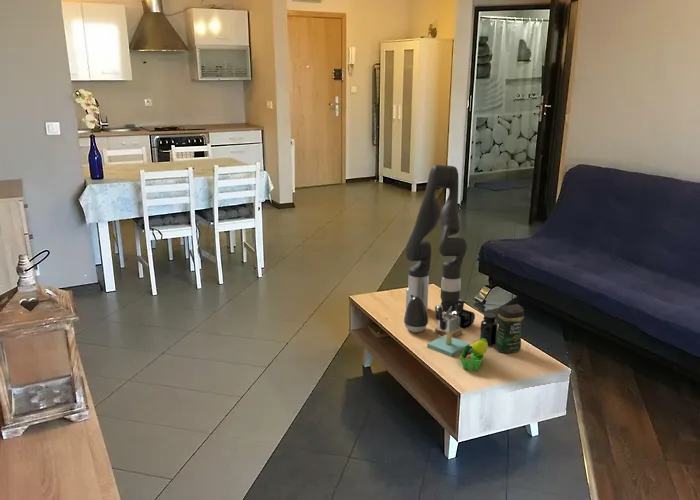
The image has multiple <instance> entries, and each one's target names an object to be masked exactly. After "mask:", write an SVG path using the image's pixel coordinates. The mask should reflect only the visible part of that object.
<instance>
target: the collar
mask: <svg viewBox="0 0 700 500" xmlns="http://www.w3.org/2000/svg"><path fill="white" fill-rule="evenodd" d="M443 318H444V315H443ZM437 323H438V324H437V328H440V321H439V320H437ZM458 329H460V317H459V316H456V315H454V314H452V313H449V315H448V317H447V318H446V326H445V330H444V331H446V332H452V331H455V330H458Z"/></svg>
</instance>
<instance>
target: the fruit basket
mask: <svg viewBox="0 0 700 500" xmlns="http://www.w3.org/2000/svg"><path fill="white" fill-rule="evenodd" d="M487 347H488V343H487V340H486V339H484V338H482V339H480V338H479V340H477V341H475V342H473V343H472V345H470V346H466V347H465V349H464V350H463V351H462V353H461V355H460V360H461V363H462V368H463V370H467V371H468V370H469V371H474V372H478V370H479V368H480V366H481V364H482V361H483V358H484V357H485V356H484V355H485V354H486V352H487V349H488V348H487Z"/></svg>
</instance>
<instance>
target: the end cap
mask: <svg viewBox="0 0 700 500" xmlns="http://www.w3.org/2000/svg"><path fill="white" fill-rule="evenodd" d="M459 311H460V308H459ZM451 313H452V312H451ZM459 317H460V328H461V329H462V330H466V329H468V328H470V327H471V326H472V325H473V324H474V322H475V318H476V315H475V313H474V312H473V311H470V310H468V309H464V308H463V313H462V315H459ZM469 326H470V327H469Z"/></svg>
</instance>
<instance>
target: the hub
mask: <svg viewBox="0 0 700 500" xmlns="http://www.w3.org/2000/svg"><path fill="white" fill-rule="evenodd" d="M426 346H427V348H429V349H432V350H434V351H437V352H439V353H441V354H444V355H446V356H450V357H454V356H456V355H458V354H460V353H461V352H462V353H463V351H464V349H465V347H466V346H471V343H468V342H466V341H463V340H460V339H458V338H456V337H452V332H446V335H444V336H440V337H438V338H436V339H434V340H432V341H430V342H428V343H427V345H426Z"/></svg>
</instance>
